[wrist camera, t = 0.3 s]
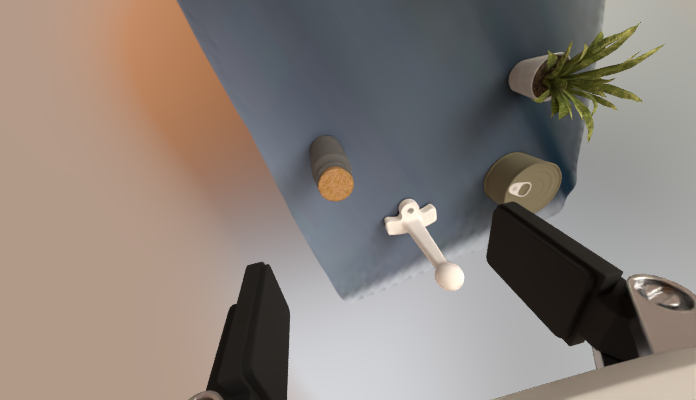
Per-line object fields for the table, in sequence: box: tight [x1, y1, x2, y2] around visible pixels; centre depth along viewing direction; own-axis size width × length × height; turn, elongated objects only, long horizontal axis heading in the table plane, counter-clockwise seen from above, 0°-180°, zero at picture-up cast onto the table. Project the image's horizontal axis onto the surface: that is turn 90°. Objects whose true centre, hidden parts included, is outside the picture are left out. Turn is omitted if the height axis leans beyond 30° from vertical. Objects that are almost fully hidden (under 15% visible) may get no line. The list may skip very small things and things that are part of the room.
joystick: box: [384, 199, 464, 291], centre depth 47 cm, size 11×8×20 cm
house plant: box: [508, 22, 663, 142], centre depth 39 cm, size 14×14×16 cm
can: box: [484, 152, 561, 213], centre depth 52 cm, size 12×12×7 cm
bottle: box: [310, 135, 354, 201], centre depth 39 cm, size 6×6×15 cm
